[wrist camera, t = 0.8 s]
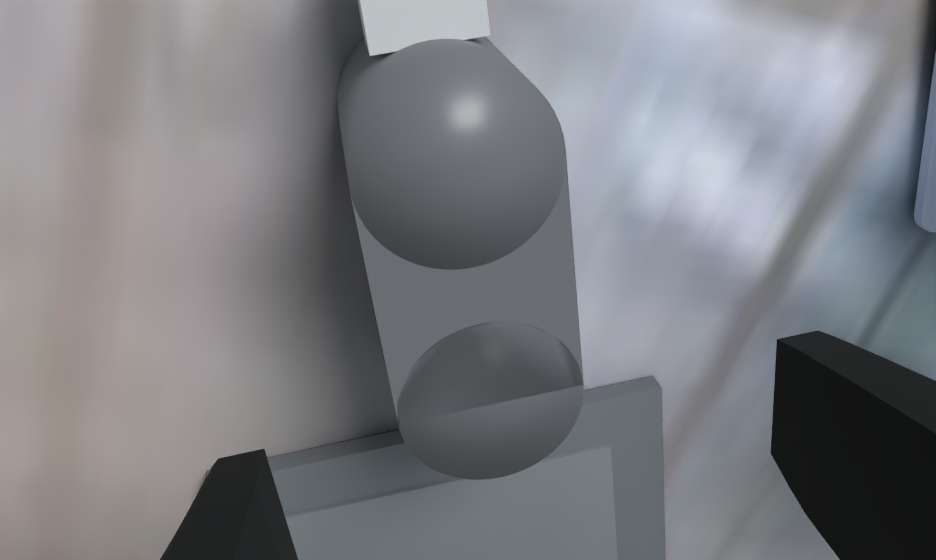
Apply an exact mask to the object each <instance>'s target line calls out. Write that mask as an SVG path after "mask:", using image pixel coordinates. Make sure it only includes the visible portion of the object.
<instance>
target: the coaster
mask: <svg viewBox="0 0 936 560" xmlns="http://www.w3.org/2000/svg"><path fill="white" fill-rule="evenodd" d="M267 459H268V463H269V466H270V469H271V472H272V476H273V479H274V482H275V485H276V489H277V492H278V495H279V498H280V502H281V505H282V508H283V511H284V515H285V518H286V521H287V525H288V528H289V531H290V534H291V538H292V541H293V544H294V547H295V551H296V554H297V557H298V560H665V522H664V477H663V433H662V388H661V387H660V385H659V384H658V382H657V381H656V379H655V378H654V376H649V377H645V378H640V379H635V380H630V381H626V382H621V383H616V384H612V385H607V386H602V387H598V388H593V389H588V390H584V391H583V401H582V407H581V410H580V413H579V416H578V418H577V420H576V423H575V425H574V426H573V428H572V430H571V431H570V433H569V434H568V436H567V437H566V438H565V440H564V441H563V442H562V443H561V444H560V445H559V446H558V447H557V448H556V449H555V450H554V451H553V452H552V453H551V454H549V455H548V456H547V457H546V458H544V459H543V460H541V461H540V462H538V463H536V464H535V465H533V466H531V467H529V468H527V469H525V470H523V471H520V472H517V473H515V474H512V475H508V476H505V477H500V478H494V479H485V480H469V479H461V478H456V477H452V476H448V475H445V474H443V473H440V472H438V471H435V470H434V469H432V468H430V467H428V466H427V465H425V464H424V463H423V462H421V461H420V460H419V459H418V458H417V457H416V456H415V455H414V454H413V453H412V452H411V451H410V449H409V448H408V446H407V445H406V443H405V441H404V439H403V437H402V435H401V433H400V430H396V431H391V432H387V433H382V434H377V435H372V436H368V437H363V438H358V439H354V440H349V441H344V442H340V443H335V444H330V445H326V446H321V447H316V448H312V449H307V450H302V451H297V452H293V453H288V454H283V455H279V456H274V457H269V458H267ZM209 472H210V470H208V471H207V475H208V473H209Z"/></svg>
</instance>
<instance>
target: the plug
mask: <svg viewBox="0 0 936 560" xmlns="http://www.w3.org/2000/svg"><path fill="white" fill-rule="evenodd" d="M358 6H359V11H360V17H361V22H362V28H363V33H364V37H363V38H362V39H361V40H360V41H359V43H358V44H357V45H356V46H355V48H354V49H353V50H352V52H351V53H350V55H349V57H348V59H347V60H346V62H345V65H344V67H343V69H342V72H341V76H340V79H339V83H338V91H337V109H338V116H339V123H340V130H341V136H342V143H343V150H344V157H345V163H346V170H347V177H348V184H349V190H350V195H351V200H352V205H353V210H354V214H355V219H356V224H357V229H358V234H359V239H360V243H361V248H362V253H363V258H364V263H365V267H366V272H367V277H368V282H369V287H370V292H371V296H372V301H373V306H374V311H375V316H376V320H377V325H378V330H379V335H380V340H381V344H382V349H383V354H384V359H385V364H386V369H387V373H388V378H389V383H390V388H391V393H392V397H393V402H394V407H395V412H396V417H397V422H398V426H399V429H400V433H401V435H402V437H403V439H404V441H405V443H406V445H407V446H408V448H409V449H410V451H411V452H412V453H413V454H414V455H415V456H416V457H417V458H418V459H419V460H420V461H421V462H423V463H424V464H425V465H427V466H428V467H430V468H432V469H434V470H435V471H438V472H440V473H443V474H445V475H448V476H452V477H456V478H461V479H469V480H485V479H494V478H500V477H505V476H508V475H512V474H515V473H517V472H520V471H523V470H525V469H527V468H529V467H531V466H533V465H535V464H536V463H538V462H540V461H541V460H543V459H544V458H546V457H547V456H548V455H549V454H551V453H552V452H553V451H554V450H555V449H556V448H557V447H558V446H559V445H560V444H561V443H562V442H563V441H564V440H565V438H566V437H567V436H568V434H569V433H570V431H571V430H572V428H573V426H574V425H575V423H576V420H577V418H578V416H579V413H580V410H581V407H582V401H583V372H582V359H581V345H580V332H579V319H578V306H577V293H576V279H575V266H574V253H573V240H572V226H571V213H570V200H569V187H568V174H567V160H566V149H565V142H564V136H563V133H562V129H561V126H560V123H559V121H558V118H557V116H556V114H555V112H554V110H553V109H552V107H551V105H550V104H549V102H548V101H547V99H546V98H545V97H544V96H543V95H542V93H541V92H540V91H539V90H538V89H537V88H536V87H535V86H534V85H533V84H532V83H531V82H530V81H529V80H528V79H527V78H526V77H525V76H524V75H523V74H522V73H521V72H520V71H519V70H518V69H517V68H516V67H515V66H514V65H513V64H512V63H511V62H510V61H509V60H508V59H507V58H506V57H505V56H504V55H503V54H502V53H501V52H500V51H499V50H498V49H497V48H496V47H495V46H494V45H493V44H492V43H491V42H490V41H489V40H488V39H487V38H486V37H485V36H490V27H489V19H488V10H487V1H486V0H358Z"/></svg>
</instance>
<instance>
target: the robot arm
mask: <svg viewBox="0 0 936 560" xmlns="http://www.w3.org/2000/svg"><path fill="white" fill-rule="evenodd" d="M914 220H915V222H916V224H917V225H918V226H920V227H921V228H923V229H925V230H927V231H929V232H936V53H935V60H934V68H933V75H932V83H931V90H930V98H929V105H928V113H927V120H926V127H925V135H924V142H923V150H922V157H921V165H920V172H919V180H918V187H917V195H916V202H915V209H914ZM771 454H772V456H773V458H774V460H775V462H776V464H777V465H778V467H779V469H780V471H781V473H782V474H783V476H784V478H785V480H786V482H787V483H788V485H789V487H790V489H791V490H792V492H793V494H794V495H795V497H796V499H797V500H798V502H799V504H800V505H801V507H802V509H803V510H804V512H805V514H806V515H807V516H808V518H809V519H810V520H811V522H812V523H813V524H814V526H815V527H816V529H817V530H818V531H819V532H820V534H821V535H822V536H823V538H824V539H825V540H826V542H827V543H828V544H829V546H830V547H831V548H832V550H833V551H834V552H835V554H836V555H837V556H838V557H839V559H840V560H936V381H934V380H932V379H930V378H928V377H925V376H923V375H921V374H919V373H916V372H914V371H912V370H910V369H907V368H905V367H903V366H901V365H898V364H896V363H894V362H892V361H889V360H887V359H885V358H883V357H880V356H878V355H876V354H874V353H871V352H869V351H867V350H865V349H862V348H860V347H858V346H855V345H853V344H851V343H848V342H846V341H844V340H841V339H839V338H836V337H834V336H831V335H828V334H826V333H823V332H820V331H814V332H809V333H805V334H800V335H795V336H791V337H786V338H781V339H777V350H776V368H775V386H774V405H773V423H772V441H771ZM160 560H298V557H297V554H296V551H295V547H294V544H293V541H292V538H291V534H290V531H289V528H288V525H287V521H286V518H285V515H284V511H283V508H282V505H281V502H280V498H279V495H278V492H277V489H276V485H275V482H274V479H273V476H272V472H271V469H270V466H269V463H268V459H267V456H266V453H265V450H264V449H261V450H257V451H252V452H247V453H243V454H238V455H233V456H229V457H224V458H219V459H218V460H217V461H216V462H215V464H214V465H213V466H212V468H211V470H210V472H209V473H208V475H207V477H206V479H205V481H204V483H203V485H202V487H201V488H200V490H199V492H198V494H197V496H196V498H195V500H194V501H193V503H192V505H191V507H190V509H189V511H188V512H187V514H186V516H185V518H184V520H183V521H182V523H181V525H180V527H179V528H178V530H177V532H176V534H175V536H174V537H173V539H172V541H171V542H170V544H169V546H168V547H167V549H166V551H165V552H164V554H163V556H162V557H161V559H160Z"/></svg>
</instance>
